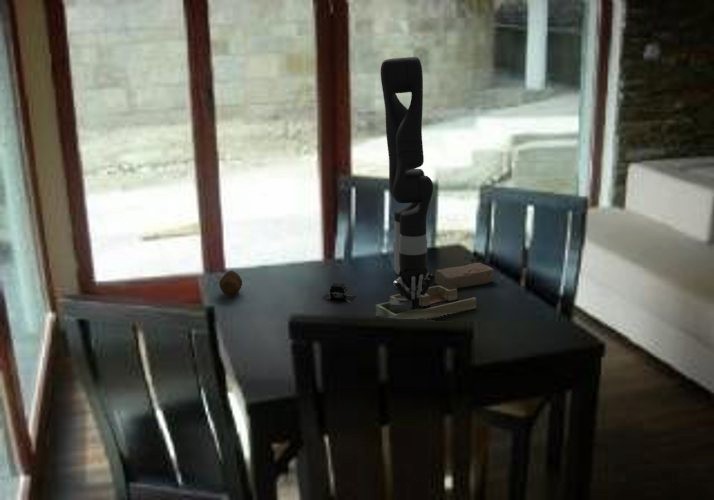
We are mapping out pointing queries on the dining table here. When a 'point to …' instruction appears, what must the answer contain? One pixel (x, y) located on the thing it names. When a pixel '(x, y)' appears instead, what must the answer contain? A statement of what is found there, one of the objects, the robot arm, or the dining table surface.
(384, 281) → the dining table surface
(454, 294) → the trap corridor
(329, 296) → the black hat
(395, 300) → the dice cube
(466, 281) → the brick
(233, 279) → the potato
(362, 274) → the dining table surface
